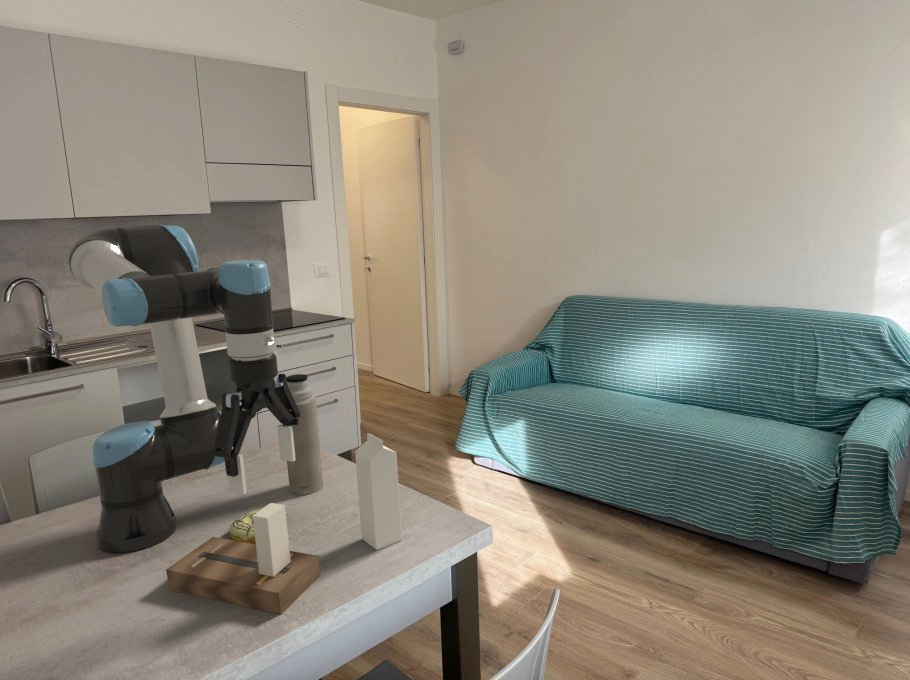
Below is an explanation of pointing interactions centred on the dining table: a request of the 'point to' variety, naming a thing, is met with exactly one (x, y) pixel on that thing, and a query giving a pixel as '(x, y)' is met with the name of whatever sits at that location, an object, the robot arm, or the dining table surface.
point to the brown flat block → (241, 576)
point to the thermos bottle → (305, 440)
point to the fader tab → (271, 539)
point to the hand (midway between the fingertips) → (264, 475)
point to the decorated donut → (244, 528)
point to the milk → (378, 493)
